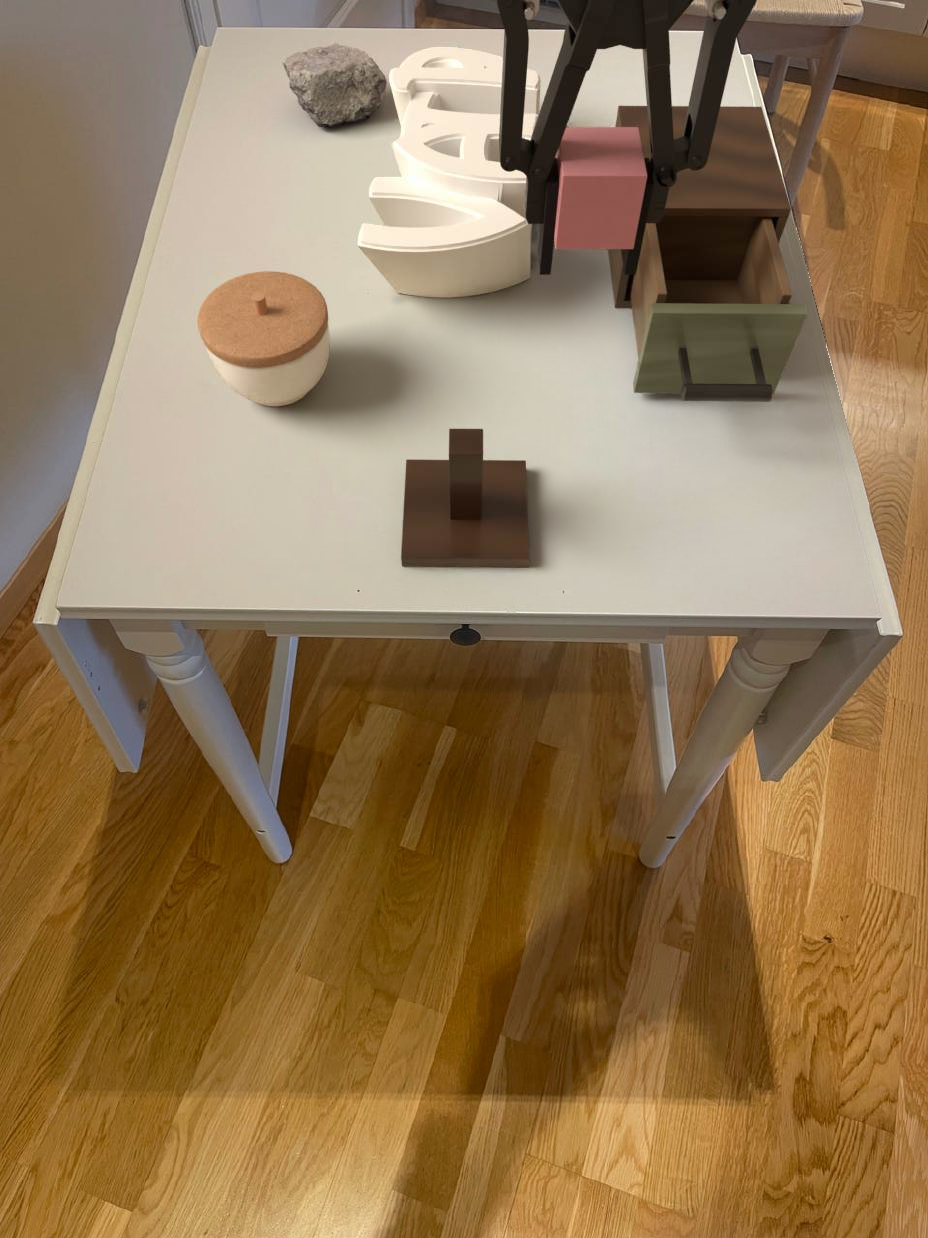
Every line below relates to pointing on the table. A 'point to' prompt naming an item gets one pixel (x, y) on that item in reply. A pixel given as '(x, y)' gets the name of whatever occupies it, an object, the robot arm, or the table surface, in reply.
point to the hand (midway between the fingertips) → (586, 261)
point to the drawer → (712, 309)
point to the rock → (336, 83)
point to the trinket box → (267, 336)
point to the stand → (465, 508)
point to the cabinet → (716, 176)
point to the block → (599, 188)
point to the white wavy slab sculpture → (451, 181)
